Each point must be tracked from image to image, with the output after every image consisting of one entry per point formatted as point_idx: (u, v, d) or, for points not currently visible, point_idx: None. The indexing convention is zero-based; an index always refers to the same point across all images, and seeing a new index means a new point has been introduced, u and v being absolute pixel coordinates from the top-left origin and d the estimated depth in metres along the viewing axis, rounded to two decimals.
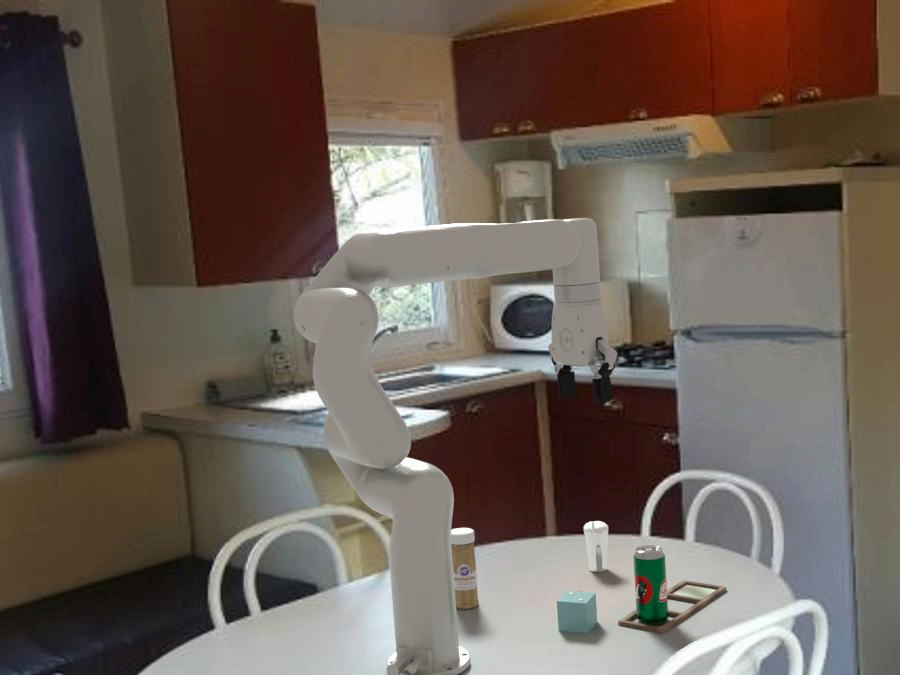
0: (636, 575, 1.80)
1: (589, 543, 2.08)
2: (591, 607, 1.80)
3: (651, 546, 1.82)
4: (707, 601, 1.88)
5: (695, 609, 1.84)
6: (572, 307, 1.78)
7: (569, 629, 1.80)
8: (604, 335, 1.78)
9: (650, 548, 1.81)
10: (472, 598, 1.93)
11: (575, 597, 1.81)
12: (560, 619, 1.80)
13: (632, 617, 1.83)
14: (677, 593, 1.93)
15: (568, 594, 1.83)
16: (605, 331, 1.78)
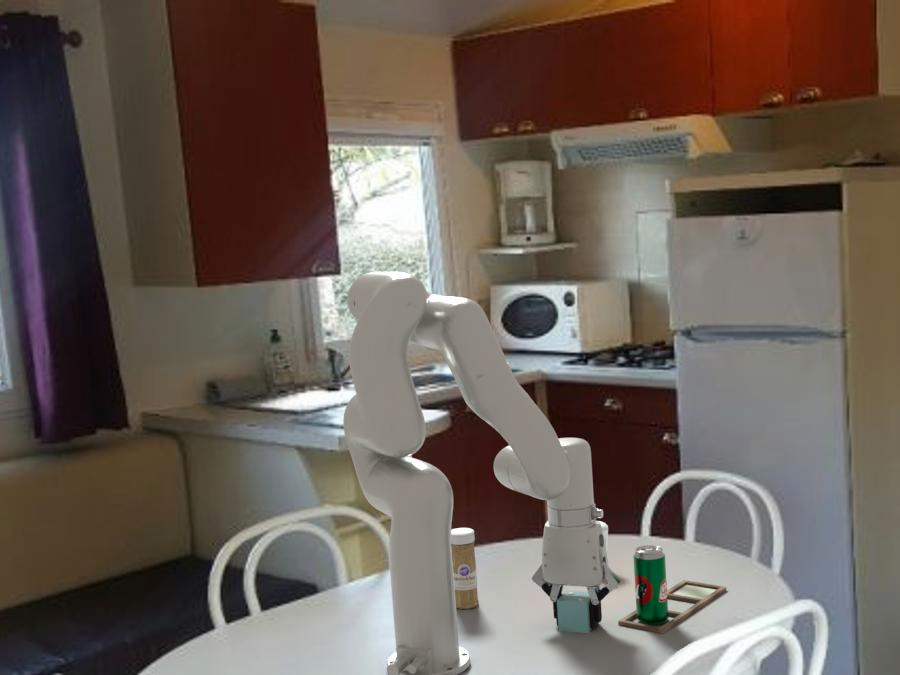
0: (636, 575, 1.80)
1: None
2: None
3: (651, 547, 1.81)
4: (707, 601, 1.88)
5: (695, 609, 1.84)
6: None
7: (569, 629, 1.80)
8: None
9: (650, 548, 1.81)
10: (472, 598, 1.93)
11: (575, 597, 1.81)
12: (560, 619, 1.80)
13: (632, 617, 1.83)
14: (677, 593, 1.93)
15: (568, 594, 1.83)
16: (542, 551, 1.81)
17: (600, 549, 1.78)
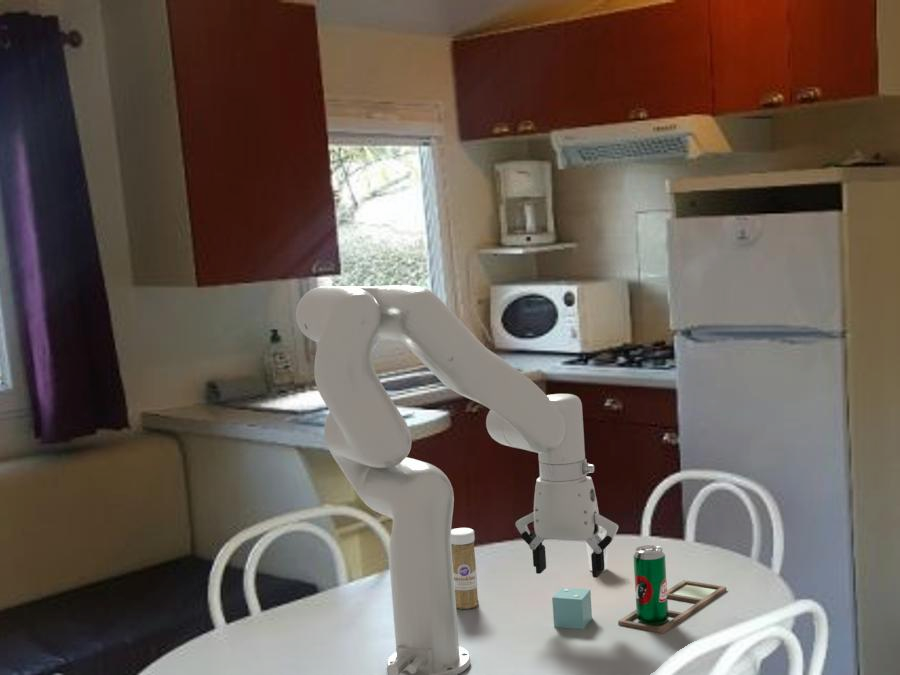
0: (636, 575, 1.80)
1: None
2: (586, 603, 1.82)
3: (651, 546, 1.82)
4: (707, 601, 1.88)
5: (695, 609, 1.84)
6: None
7: (564, 625, 1.82)
8: None
9: (650, 548, 1.81)
10: (472, 598, 1.93)
11: (570, 594, 1.83)
12: (556, 615, 1.82)
13: (632, 617, 1.83)
14: (677, 593, 1.93)
15: (563, 591, 1.85)
16: None
17: (591, 504, 1.79)
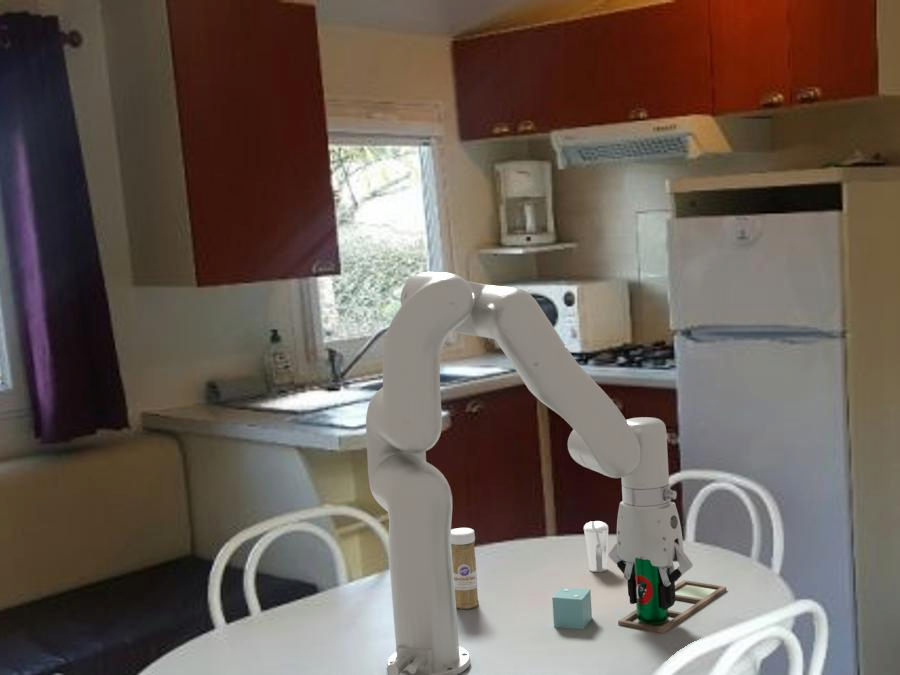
0: (636, 575, 1.80)
1: (589, 543, 2.08)
2: (586, 603, 1.82)
3: None
4: (707, 601, 1.88)
5: (695, 609, 1.84)
6: None
7: (564, 625, 1.82)
8: None
9: None
10: (472, 598, 1.93)
11: (570, 594, 1.83)
12: (556, 615, 1.82)
13: (632, 617, 1.83)
14: (677, 593, 1.93)
15: (563, 590, 1.85)
16: (617, 529, 1.82)
17: (671, 530, 1.76)
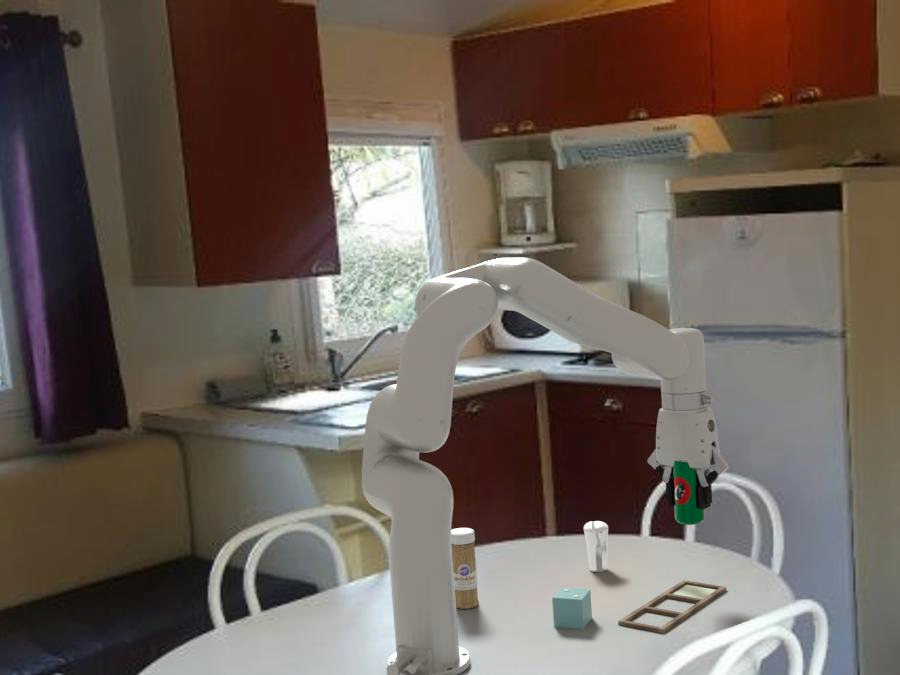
0: (675, 477, 1.90)
1: (589, 543, 2.08)
2: (586, 603, 1.82)
3: None
4: (707, 601, 1.88)
5: (695, 609, 1.84)
6: None
7: (564, 625, 1.82)
8: None
9: None
10: (472, 598, 1.93)
11: (570, 594, 1.83)
12: (556, 615, 1.82)
13: (632, 617, 1.83)
14: (677, 593, 1.93)
15: (563, 591, 1.85)
16: (656, 435, 1.92)
17: (709, 433, 1.86)
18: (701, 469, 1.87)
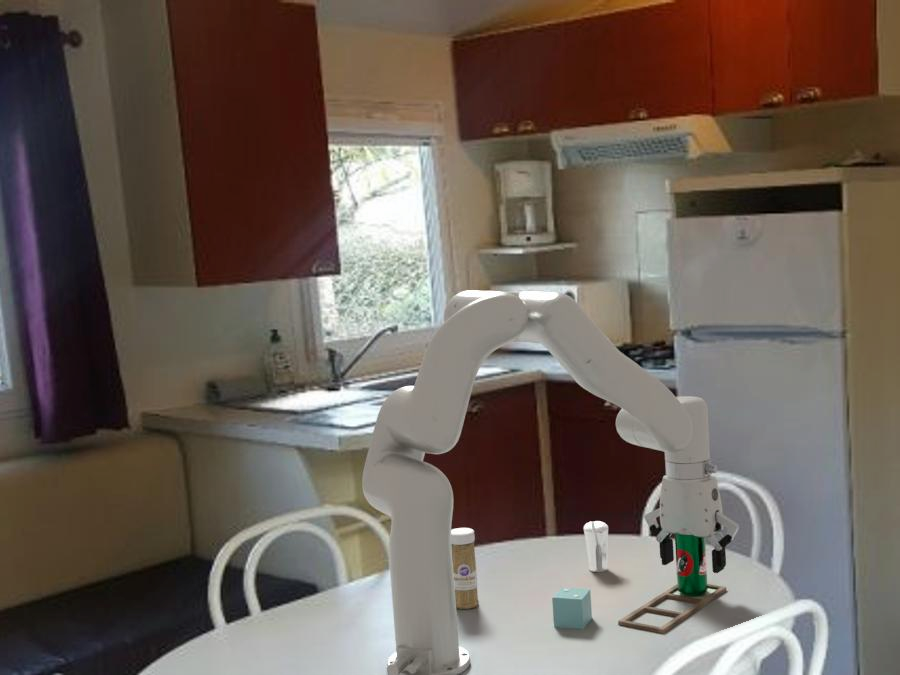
0: (677, 549, 1.91)
1: (589, 543, 2.08)
2: (586, 603, 1.82)
3: None
4: (707, 601, 1.88)
5: (695, 609, 1.84)
6: None
7: (564, 625, 1.82)
8: None
9: None
10: (472, 598, 1.93)
11: (570, 594, 1.83)
12: (555, 615, 1.82)
13: (632, 617, 1.83)
14: (677, 593, 1.93)
15: (563, 591, 1.85)
16: (660, 502, 1.93)
17: (713, 502, 1.87)
18: None
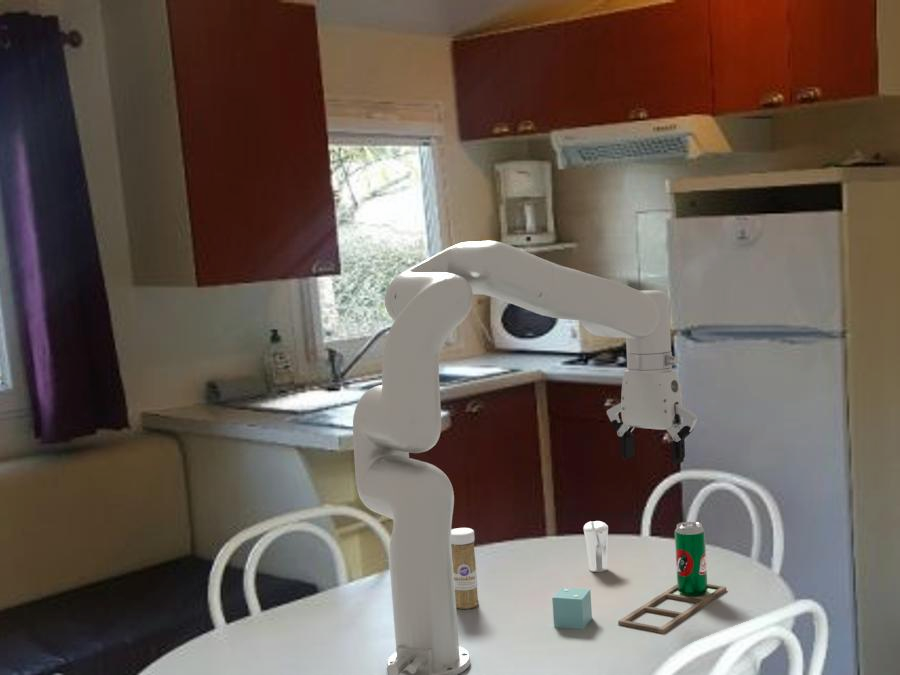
0: (677, 549, 1.91)
1: (589, 543, 2.08)
2: (586, 603, 1.82)
3: (691, 523, 1.93)
4: (707, 601, 1.88)
5: (695, 609, 1.84)
6: None
7: (564, 625, 1.82)
8: None
9: (690, 524, 1.92)
10: (472, 598, 1.93)
11: (570, 594, 1.83)
12: (556, 615, 1.82)
13: (632, 617, 1.83)
14: (677, 593, 1.93)
15: (563, 590, 1.85)
16: None
17: (672, 394, 1.88)
18: None
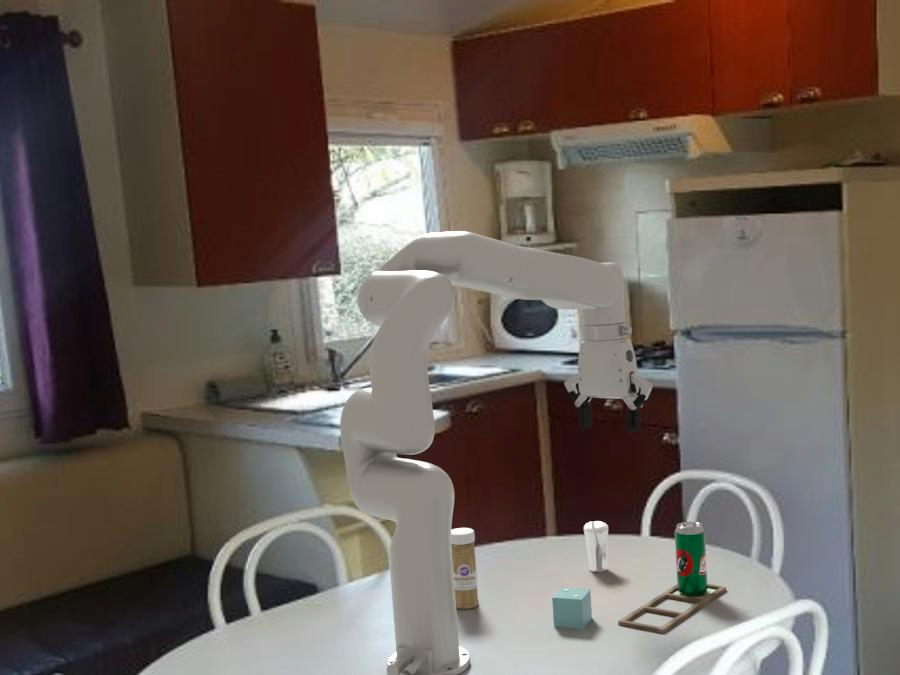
0: (677, 549, 1.91)
1: (589, 543, 2.08)
2: (586, 603, 1.82)
3: (691, 523, 1.93)
4: (707, 601, 1.88)
5: (695, 609, 1.84)
6: None
7: (564, 625, 1.82)
8: None
9: (690, 524, 1.92)
10: (472, 598, 1.93)
11: (570, 594, 1.83)
12: (556, 615, 1.82)
13: (632, 617, 1.83)
14: (677, 593, 1.93)
15: (563, 591, 1.85)
16: None
17: (627, 363, 1.92)
18: None
